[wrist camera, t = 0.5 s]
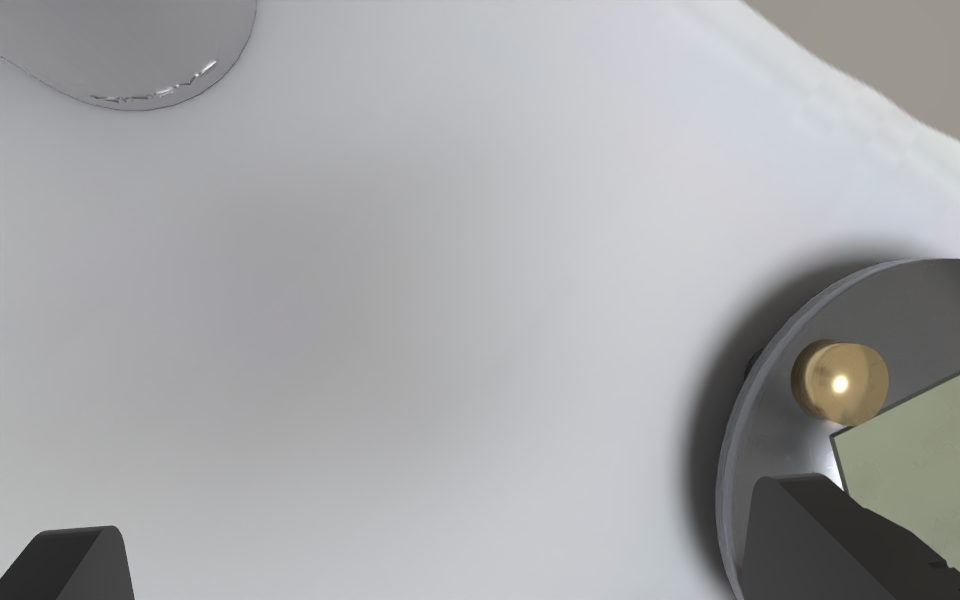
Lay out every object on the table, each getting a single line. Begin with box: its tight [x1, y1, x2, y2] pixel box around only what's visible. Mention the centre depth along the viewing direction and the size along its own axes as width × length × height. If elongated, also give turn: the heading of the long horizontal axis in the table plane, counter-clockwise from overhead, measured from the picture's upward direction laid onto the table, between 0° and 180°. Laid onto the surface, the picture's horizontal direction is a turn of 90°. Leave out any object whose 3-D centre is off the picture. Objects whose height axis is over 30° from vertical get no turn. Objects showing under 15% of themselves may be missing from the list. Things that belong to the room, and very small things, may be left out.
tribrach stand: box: [715, 258, 960, 600], centre depth 30 cm, size 20×20×6 cm
